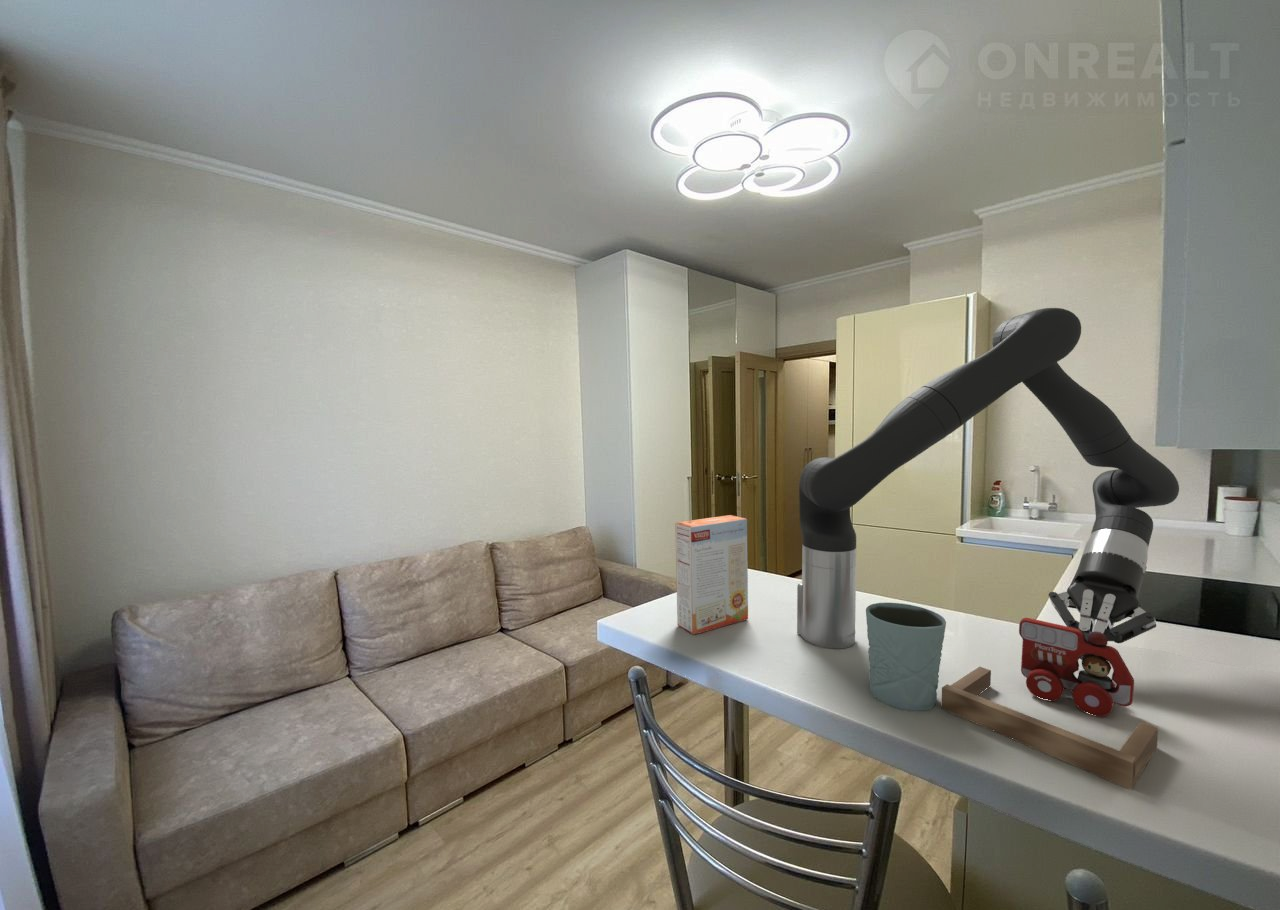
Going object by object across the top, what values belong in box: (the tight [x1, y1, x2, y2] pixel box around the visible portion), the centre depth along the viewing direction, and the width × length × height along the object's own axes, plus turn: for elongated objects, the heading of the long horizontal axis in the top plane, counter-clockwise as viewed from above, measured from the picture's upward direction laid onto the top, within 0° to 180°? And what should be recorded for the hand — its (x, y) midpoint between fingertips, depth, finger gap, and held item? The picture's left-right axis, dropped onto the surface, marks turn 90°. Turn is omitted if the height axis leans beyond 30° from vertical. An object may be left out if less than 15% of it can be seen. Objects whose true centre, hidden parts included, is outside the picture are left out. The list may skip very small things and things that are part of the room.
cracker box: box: [674, 514, 749, 635], centre depth 99 cm, size 14×6×21 cm, turn 120°
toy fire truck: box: [1018, 617, 1135, 717], centre depth 71 cm, size 7×12×10 cm, turn 43°
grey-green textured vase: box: [865, 602, 947, 712], centre depth 72 cm, size 10×10×12 cm
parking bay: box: [941, 666, 1159, 790], centre depth 64 cm, size 19×12×3 cm, turn 35°
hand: (1085, 658), depth 75 cm, fingers closed
